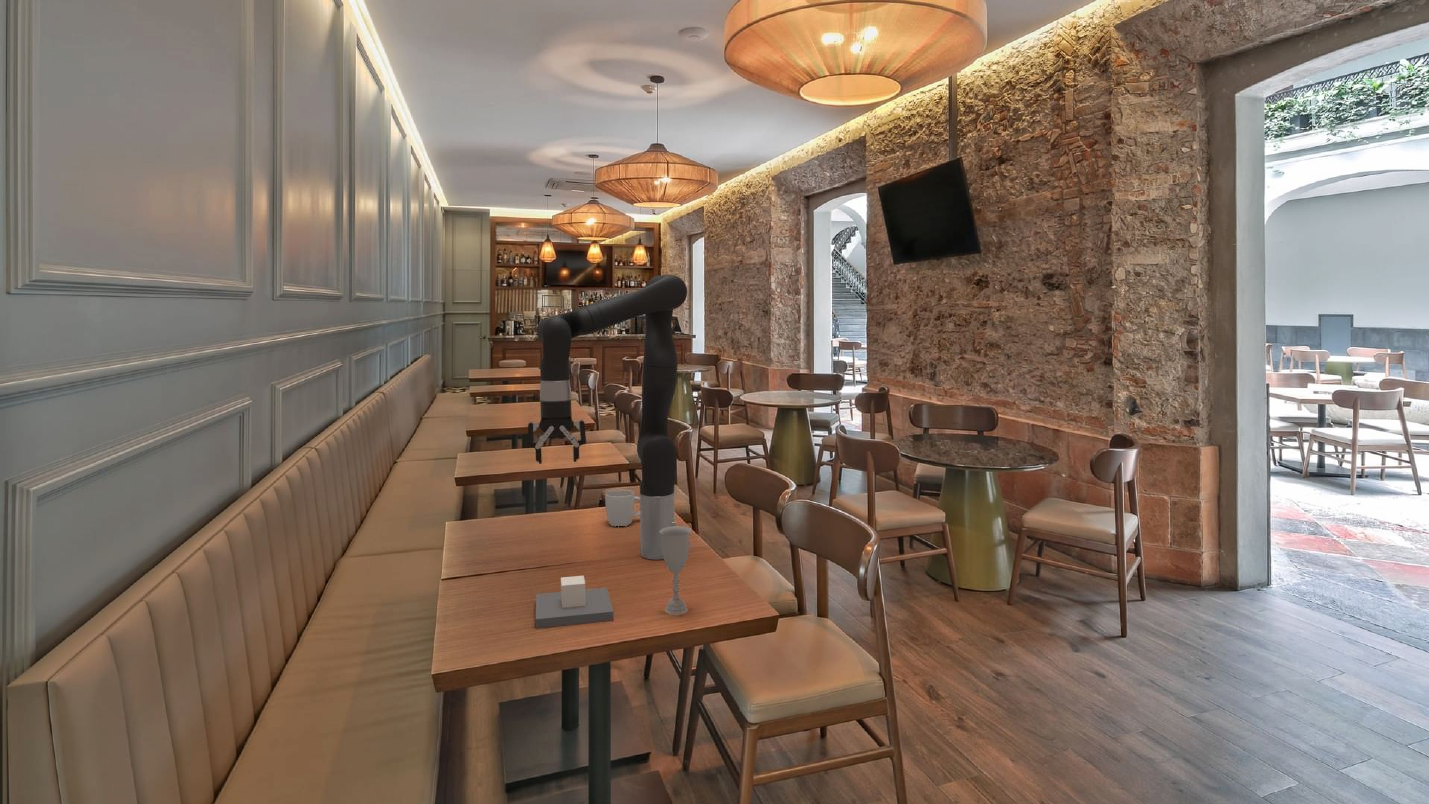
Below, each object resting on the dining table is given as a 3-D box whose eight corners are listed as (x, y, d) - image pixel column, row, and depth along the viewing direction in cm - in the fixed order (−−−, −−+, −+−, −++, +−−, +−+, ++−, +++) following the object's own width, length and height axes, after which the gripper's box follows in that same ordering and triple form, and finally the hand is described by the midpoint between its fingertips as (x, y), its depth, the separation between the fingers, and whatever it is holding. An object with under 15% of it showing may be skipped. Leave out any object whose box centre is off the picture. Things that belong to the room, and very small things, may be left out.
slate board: (607, 595, 166) (607, 587, 166) (613, 620, 152) (613, 611, 152) (536, 602, 162) (536, 594, 162) (536, 628, 149) (535, 619, 148)
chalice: (679, 619, 153) (678, 537, 151) (653, 612, 156) (652, 532, 154) (698, 607, 159) (697, 529, 157) (673, 601, 162) (672, 524, 160)
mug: (612, 530, 217) (612, 498, 216) (601, 523, 225) (600, 491, 224) (650, 523, 224) (649, 492, 223) (638, 517, 232) (637, 486, 230)
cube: (584, 597, 160) (583, 575, 159) (585, 605, 155) (585, 583, 155) (561, 599, 159) (560, 577, 158) (562, 608, 154) (561, 585, 153)
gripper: (583, 395, 183) (585, 458, 185) (526, 397, 180) (528, 460, 182) (585, 399, 176) (587, 463, 178) (525, 400, 172) (528, 466, 174)
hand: (557, 462), depth 180 cm, fingers open, 8 cm apart
